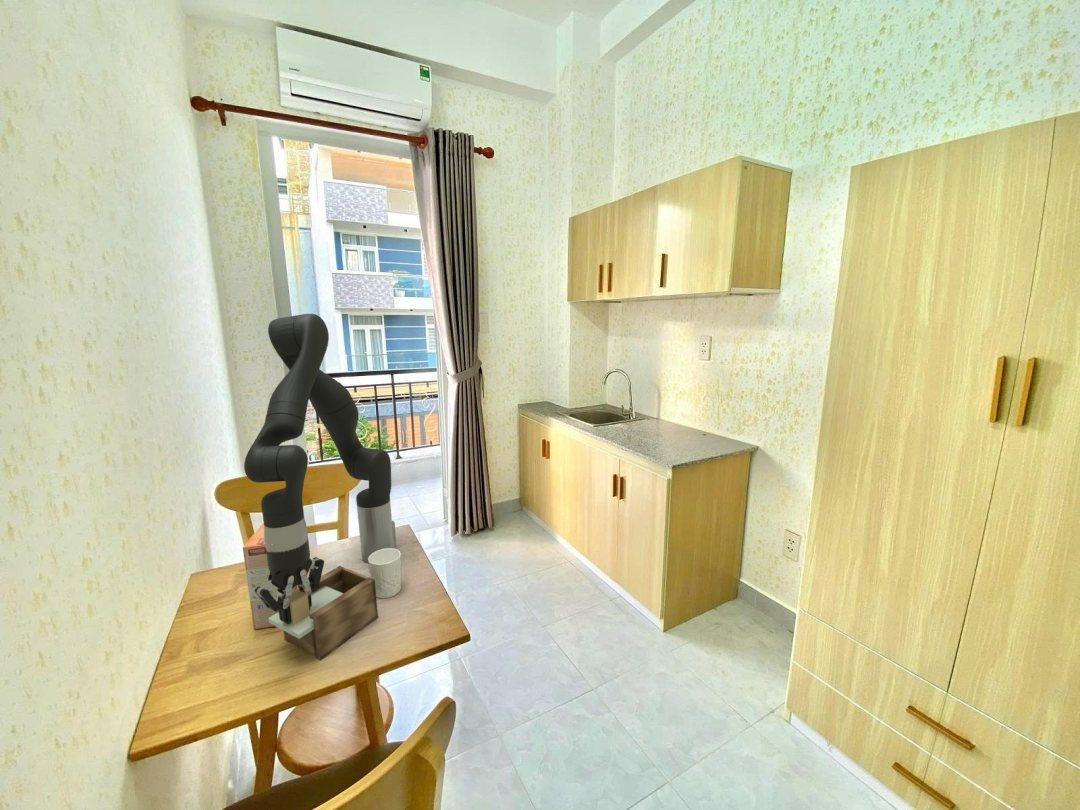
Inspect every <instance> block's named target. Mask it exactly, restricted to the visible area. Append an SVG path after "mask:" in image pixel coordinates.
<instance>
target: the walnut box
mask: <svg viewBox="0 0 1080 810" xmlns="http://www.w3.org/2000/svg"><path fill="white" fill-rule="evenodd" d="M324 585H325V586H327V587H329V588H331V589H334V590H336V591H338V592H341V593H343V594H342V595H341V596H339V597H337V598H336V599H334V600H333V601H331V602H330V603H328V604H326V605H325V606H323V607H322V608H320V609H318V610H317V611H315V612H314V613H312V614H311V615H309V616H310V618H311V619H313V621H314V629H313V630H312V631H310V632H309V633H307V634H306V635H304V636H303V637H301V638H300V639H298V638H297V637H295V636H293V635H291V634H289V633H287V632H286V631H284V630H282V631H283V635H284V636H283V637H284V641H285V642H287V643H289V644H291V646H295V647H297V649H299V650H301V651H303V652H305V653H306V654H308V655H310V656H312V657H313V658H316V659H317V660H318V661H322V660H324V658H326V657H327V656H328V655H330V654H331V653H332V652H334V651H335V650H336V649H338V648H340V646H342V645H344V644H345V643H346V642H347V641H349V640H351V638H353V637H354V636H356V635H357V634H358V633H360V632H361V631H363V629H365V628H367V627H368V626H369V625H370V624H371V623H373V622H374V621H376V620H377V619H378V618H379V612H378V611H379V610H378V601H377V600H378V599H377V597H376V589H375V580H374V579H372V578H371V577H369V576H367V575H364V574H362V573H359V572H356V571H354V570H352V569H349V568H346V567H344V566H342V565H339V566H337V567H335V568H333V569H332V570H330V571H328V572H326V573H324V574H323V575H321V579H320V583H319V586H318V587H317V588H314V589H313V590H312V592H314V591H316V590H317V589H319V588H321V587H322V586H324ZM297 589H298V588H297ZM298 590H299V589H298Z"/></svg>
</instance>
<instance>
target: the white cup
mask: <svg viewBox="0 0 1080 810" xmlns="http://www.w3.org/2000/svg"><path fill="white" fill-rule="evenodd" d="M401 555H402V553H401V551H400V550H399V549H398V548H397V549H394V548H385V549H381V550H378V551H375V552H374V553H372V554H371V555H370V556H369V558H368V561H369V563H368V567H369V573H370V574H369V575H370V578H372V579H374V580H375V589H376V598H378V599H389V598H391V597H394V596H395V595H397V594H399V592H400V591H401V589H402V556H401Z"/></svg>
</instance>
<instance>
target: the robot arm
mask: <svg viewBox="0 0 1080 810" xmlns="http://www.w3.org/2000/svg"><path fill="white" fill-rule="evenodd" d="M267 329H268V330H267V332H268V337H269V339H270V343H271V345H272V347H273V349H274V351H275V352H276V354H277V356H278V357H279V358H280V359H281V361H282V362H283V363H284V364H285V367H287V369H288V370H289V371H288V372H287V374H286V375H284V377H283V378H282V380H281V381H279V383H278V385H277V386H276V387H275V388H274V390H273V392H272V393H271V396H270V399H269V402H268V406H267V410H266V415H265V419H264V423H263V426H262V427H261V429H260V431H259V433H258V434H257V436H256V438H255V440H254V441H253V442H252V444H251V446H250V448H249V450H248V451H247V453H246V455H245V459H244V462H243V463H244V464H243V465H244V466H243V469H244V473H245V475H246V477H247V478H248V479H249V480H250V481H251V482H254V483H275V482H276V483H277V482H285V487H283V488H280V489H275V490H272V491H271V492H268V493H266V494H265V495H264V496H263V497H262V498H261V504H260V505H261V513H262V519H263V523H264V540H265V547H266V555H267V562H268V567H269V571H270V574H269V577H268V581H267V582H266V583H265V584H264V585H263V586H262V587H260V586H258V587H257V588H256V589H255V593H256V594H257V595H258V596H259V598H260V599H261V600H262V601H263V603H264V604H265V605H266V607H267V608H269V609H272V610H273V611H275V612H276V611H278V610H279V618H280V620H281V621H282V622H284V623H287V624H289V623H291V622H292V619H291V611H290V607H289V599H290V597H291V594H292V589H293V588H294V587H295V586H297V589H299V590H300V591H302V592H304V593H307V594H308V602H309V610H310V607H311V606H312V600H311V593H312V590H313V589H314V588H317V587H318V586H319V583H320V579H321V576H322V574H323V569H324V565H325V560H324V559H322V558H320V557H317V556H314V557H313V558H312V559H311V558H310V557H311V551H310V543H309V534H308V533H309V532H308V527H307V522H306V519H305V512H304V504H303V492H304V483H305V479H306V475H307V474H306V473H307V469H308V464H309V463H308V462H309V458H308V454H307V452H306V451H305V449H304V448H303V447H302V446H300V445H297V444H285V445H282V444H283V443H285V442H288V441H291V440H295V439H298V438H299V437H301V436H302V434H303V432H304V427H305V421H306V417H307V411H308V403H311V405H312V408H313V409H314V411H315V413H316V415H317V416H318V418H319V419H320V422H321V423H322V424H323V426H324V428H325V429H326V431H327V433H328V434H329V436H330V437H331V440H332V442H333V444H334V445H335V447H336V449H337V452H338V454H339V457H340V458H341V461H342V463H343V465H344V467H345V469H346V472H347V473H348V475H349V476H350V477H351V478H353V479H355V480H358V481H367V482H368V488H366V489H365V488H364V489H362V490H360V491H359V492H358V493H357V494H356V496H355V502H356V510H357V520H358V521H357V523H358V531H359V543H360V552H361V560H362V561H363V562H364V563H368V564H369V561H368V558H369V556H370V555H371V554H372V553H374V552H375V551H378V550H381V549H385V548H394V549H398V548H397V545H398V544H397V535H396V534H397V533H396V522H395V521H394V520H393V518H392V508H391V507H392V506H391V492H392V491H391V490H392V462H391V457H390V455H389V453H388V452H387V451H386V450H385V449H380V448H370V447H365V446H364V444H362V443H361V441H360V439H359V437H358V435H357V427H358V422H359V416H360V415H359V408H358V407H357V404H356V403H355V401H354V399H353V396H352V394H351V393H350V391H349V390H348V389H347V388H346V387H345V386H344V385H343V384H342V383H341V382H340V381H338V380H337V379H335V378H334V377H332V376H330V375H329V374H327V373H326V372H324V371H323V370H322V369H321V366H322V363H323V360H324V358H325V355H326V352H327V350H328V346H329V340H330V338H329V337H330V335H329V330H328V326H327V324H326V322H325V321H324V319H323V318H322V317H321V316H320V315H318V314H315V313H301V314H297V315H291V316H284V317H280V318H279V317H277V318H275V319H272V320H271V321H270V322H269V324H268V327H267ZM273 585H274V586H276V595H277V598H276V601H275V599H274V598H273V597H272V595H271V594H272V586H273Z"/></svg>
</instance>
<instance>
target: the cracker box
mask: <svg viewBox="0 0 1080 810" xmlns="http://www.w3.org/2000/svg"><path fill="white" fill-rule="evenodd" d="M242 551H243V552H242V553H243V561H244V567H245V574H246V580H247V581H246V582H247V588H248V589H247V590H248V596H249V602H250V603H249V604H250V610H251V617H252V624H253V630H260V629H267V628H274V627H276V626H275V625H273V624H271V623H269V620H268V618H269V617H271V616H273V615H274V614H276V613H278V612H279V610H278V611H276V612H275V611H273V610H272V609H269V608H267V607H266V605H265V604H264V603H263V601H262V600H261V599H260V598H259V596H258V595H257V594H256V593H255V589H256V588H257V587H258V586H260V587H262V586H263V585H264V584H265V583H266V582H267V581H268V577H269V574H270V571H269V567H268V562H267V555H266V547H265V540H264V522H263V523H262V524H260V526H259V528H257V529H256V531H255V532H254V533H253V534H252V536H251V537H250V538H249V539H248V540H247V542H246V543H245V544H244V545H242ZM297 589H298V586H295V587H294V588H293V589H292V592H293V591H295V590H297ZM271 595H272V597H273V598H274V599H275V601H276V598H277V595H276V586H274V585H273V586H272V594H271Z"/></svg>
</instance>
